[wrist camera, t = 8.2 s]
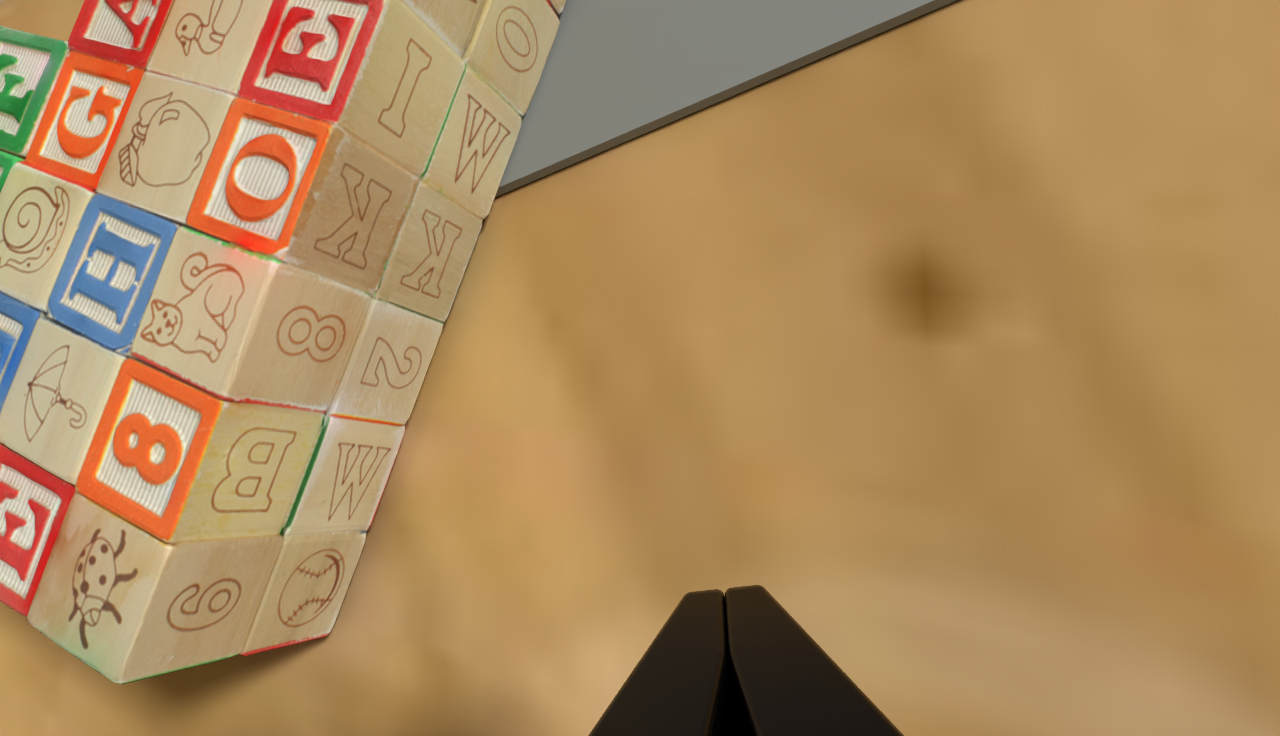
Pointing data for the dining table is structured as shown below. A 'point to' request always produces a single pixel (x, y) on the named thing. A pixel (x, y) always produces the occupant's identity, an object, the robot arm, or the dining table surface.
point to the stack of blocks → (230, 299)
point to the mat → (673, 65)
